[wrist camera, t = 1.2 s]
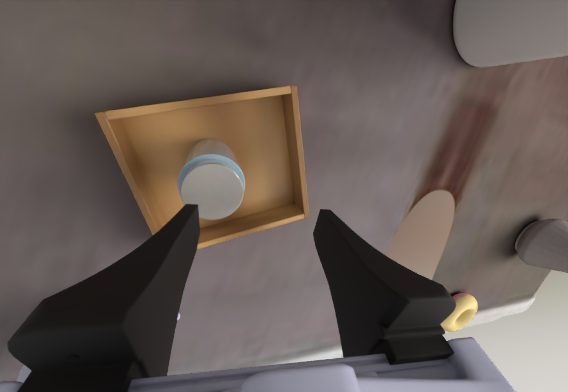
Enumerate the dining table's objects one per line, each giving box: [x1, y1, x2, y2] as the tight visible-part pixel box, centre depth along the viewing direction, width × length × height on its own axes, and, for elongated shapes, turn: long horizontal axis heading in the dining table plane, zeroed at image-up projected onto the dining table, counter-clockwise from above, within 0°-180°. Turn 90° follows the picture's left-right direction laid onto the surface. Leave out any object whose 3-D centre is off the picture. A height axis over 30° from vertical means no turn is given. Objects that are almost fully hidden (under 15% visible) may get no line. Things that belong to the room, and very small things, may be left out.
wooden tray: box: [95, 85, 309, 249], centre depth 21 cm, size 15×13×4 cm
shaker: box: [178, 138, 245, 220], centre depth 17 cm, size 4×4×9 cm
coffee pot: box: [515, 219, 568, 273], centre depth 41 cm, size 21×12×15 cm, turn 80°
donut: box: [440, 293, 477, 332], centre depth 49 cm, size 10×5×9 cm
